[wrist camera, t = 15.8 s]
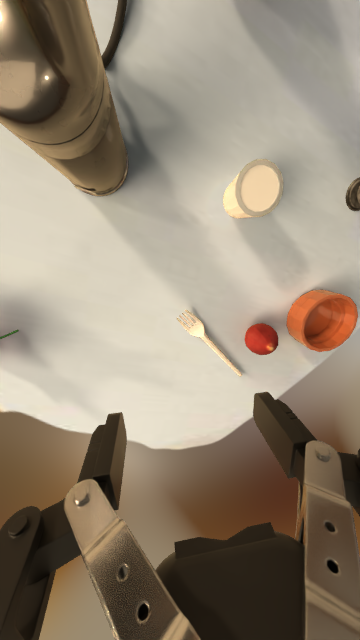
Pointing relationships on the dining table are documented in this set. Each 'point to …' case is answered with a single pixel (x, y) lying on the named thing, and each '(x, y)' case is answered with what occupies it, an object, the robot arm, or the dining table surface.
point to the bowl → (322, 319)
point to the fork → (204, 336)
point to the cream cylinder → (254, 190)
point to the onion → (261, 339)
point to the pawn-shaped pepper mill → (353, 195)
